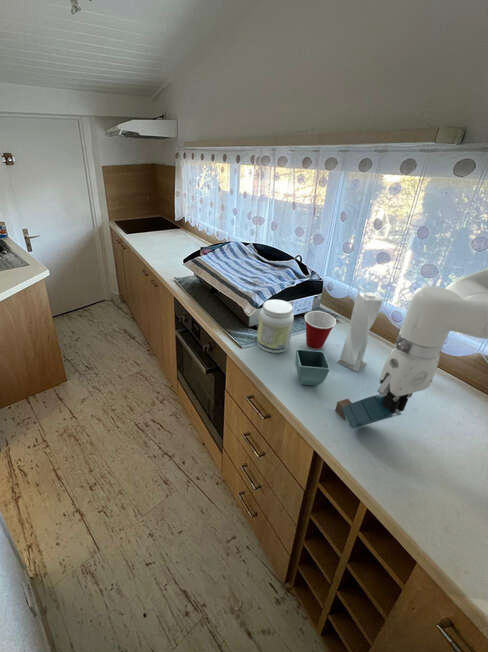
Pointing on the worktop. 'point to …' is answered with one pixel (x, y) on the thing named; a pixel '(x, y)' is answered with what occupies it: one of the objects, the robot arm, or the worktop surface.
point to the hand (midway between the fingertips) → (392, 407)
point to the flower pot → (311, 367)
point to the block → (342, 404)
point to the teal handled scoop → (367, 412)
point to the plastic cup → (318, 328)
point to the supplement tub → (275, 326)
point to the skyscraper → (360, 329)
